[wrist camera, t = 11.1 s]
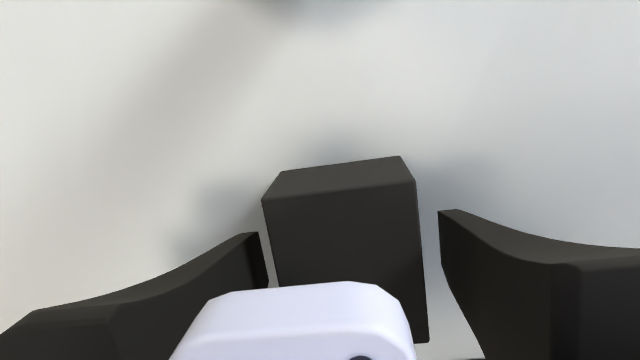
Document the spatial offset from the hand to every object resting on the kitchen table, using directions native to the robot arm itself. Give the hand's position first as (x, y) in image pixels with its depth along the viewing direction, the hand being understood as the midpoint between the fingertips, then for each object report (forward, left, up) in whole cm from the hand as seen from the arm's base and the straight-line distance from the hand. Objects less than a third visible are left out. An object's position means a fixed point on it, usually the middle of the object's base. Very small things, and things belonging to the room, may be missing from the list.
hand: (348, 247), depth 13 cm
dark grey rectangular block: (0, 0, -1) cm, 1 cm away
